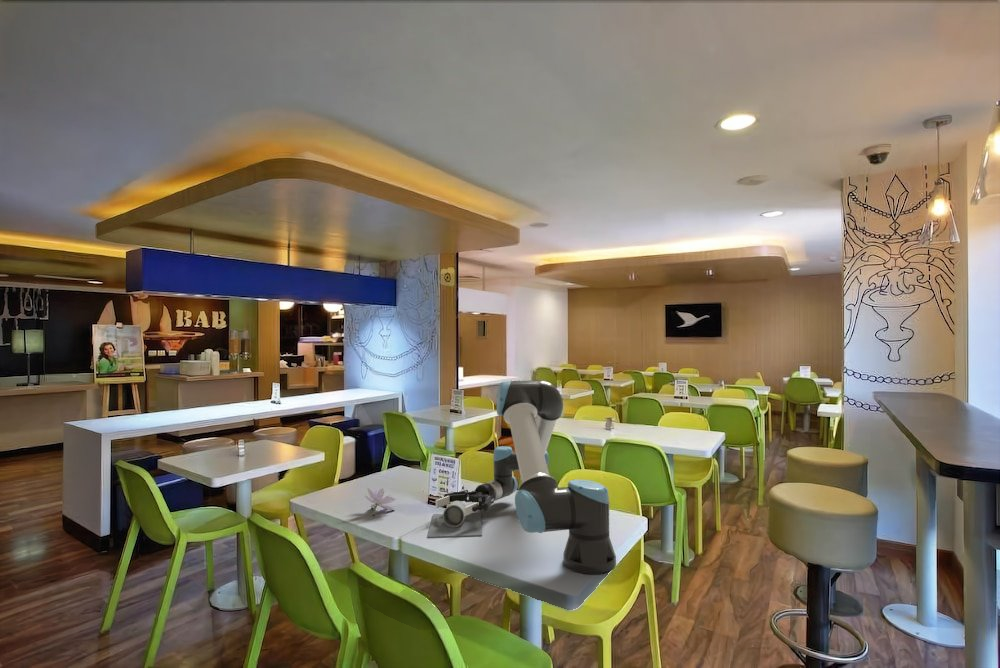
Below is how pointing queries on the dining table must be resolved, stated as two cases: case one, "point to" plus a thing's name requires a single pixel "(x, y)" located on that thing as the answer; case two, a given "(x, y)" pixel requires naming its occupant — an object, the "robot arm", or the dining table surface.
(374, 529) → the dining table surface
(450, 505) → the ceramic mug
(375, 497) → the water lily
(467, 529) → the placemat
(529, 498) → the robot arm
